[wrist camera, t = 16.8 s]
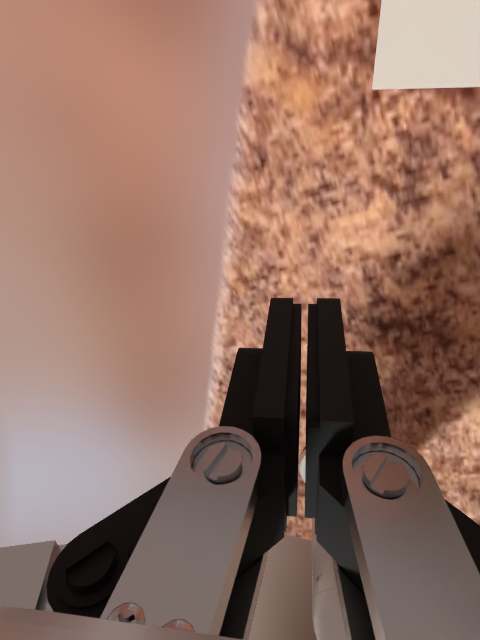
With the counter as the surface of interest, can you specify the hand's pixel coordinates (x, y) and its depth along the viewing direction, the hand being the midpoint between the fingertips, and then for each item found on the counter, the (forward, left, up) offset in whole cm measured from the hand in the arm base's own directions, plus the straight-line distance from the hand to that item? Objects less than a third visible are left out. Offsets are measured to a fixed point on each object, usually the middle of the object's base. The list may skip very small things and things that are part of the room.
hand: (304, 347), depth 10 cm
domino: (+6, -4, -23) cm, 24 cm away
